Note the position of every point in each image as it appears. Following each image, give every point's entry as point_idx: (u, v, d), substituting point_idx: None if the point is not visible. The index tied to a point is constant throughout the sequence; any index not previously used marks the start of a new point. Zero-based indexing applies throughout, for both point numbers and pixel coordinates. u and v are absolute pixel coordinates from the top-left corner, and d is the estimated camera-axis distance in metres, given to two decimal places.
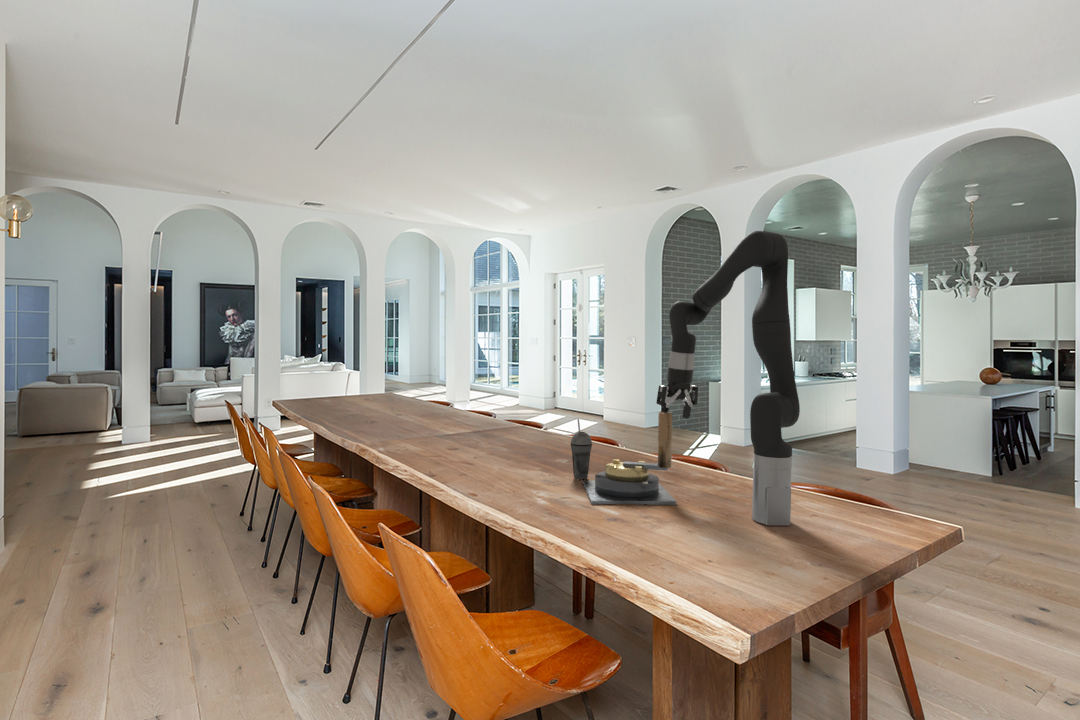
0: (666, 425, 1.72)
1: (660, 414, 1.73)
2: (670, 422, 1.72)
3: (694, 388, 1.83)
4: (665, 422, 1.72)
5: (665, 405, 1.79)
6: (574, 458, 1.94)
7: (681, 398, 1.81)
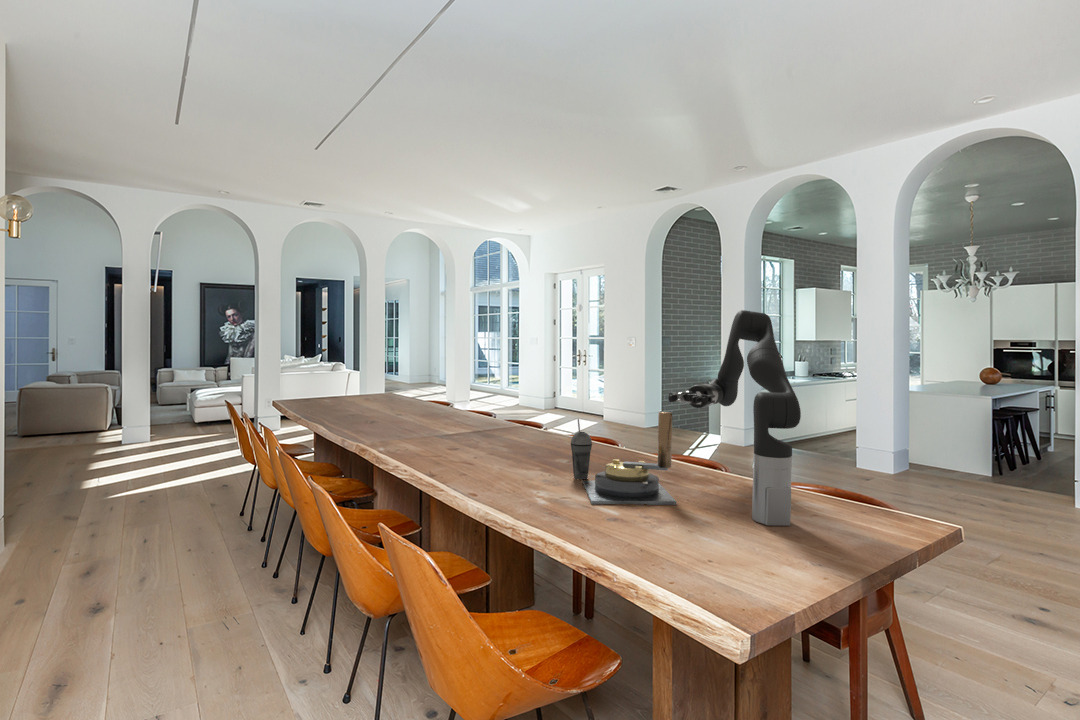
0: (666, 425, 1.72)
1: (660, 414, 1.73)
2: (670, 422, 1.72)
3: None
4: (665, 422, 1.72)
5: None
6: (574, 458, 1.94)
7: (691, 394, 1.87)
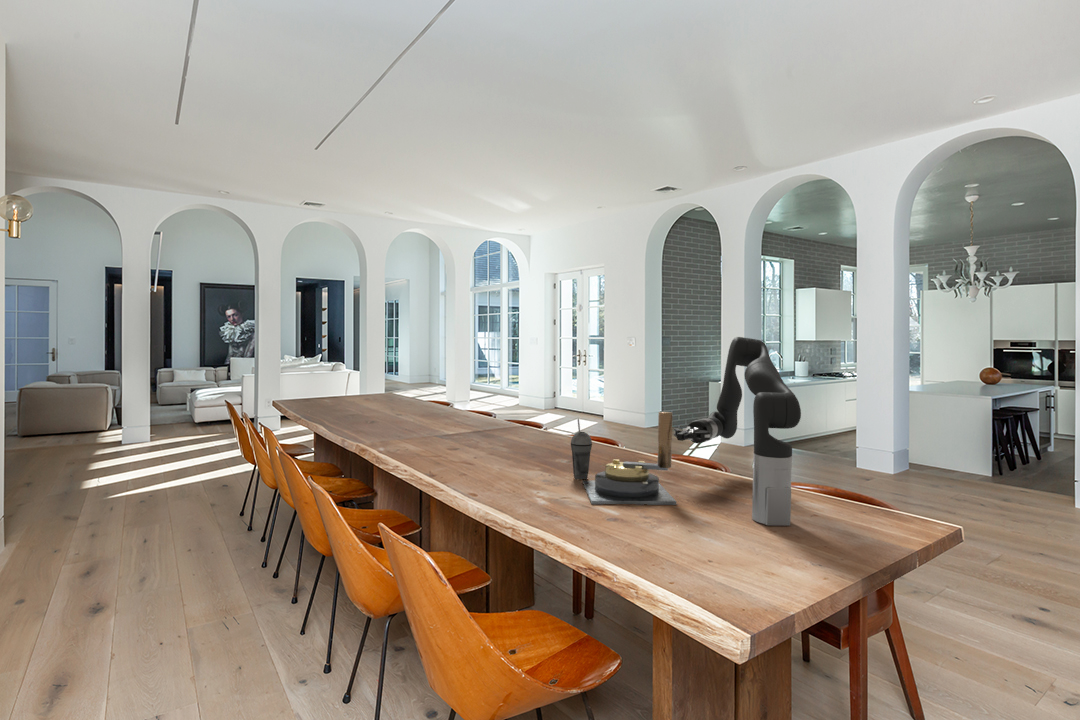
0: (666, 425, 1.72)
1: (660, 414, 1.73)
2: (670, 422, 1.72)
3: None
4: (665, 422, 1.72)
5: None
6: (574, 458, 1.94)
7: (689, 430, 1.89)
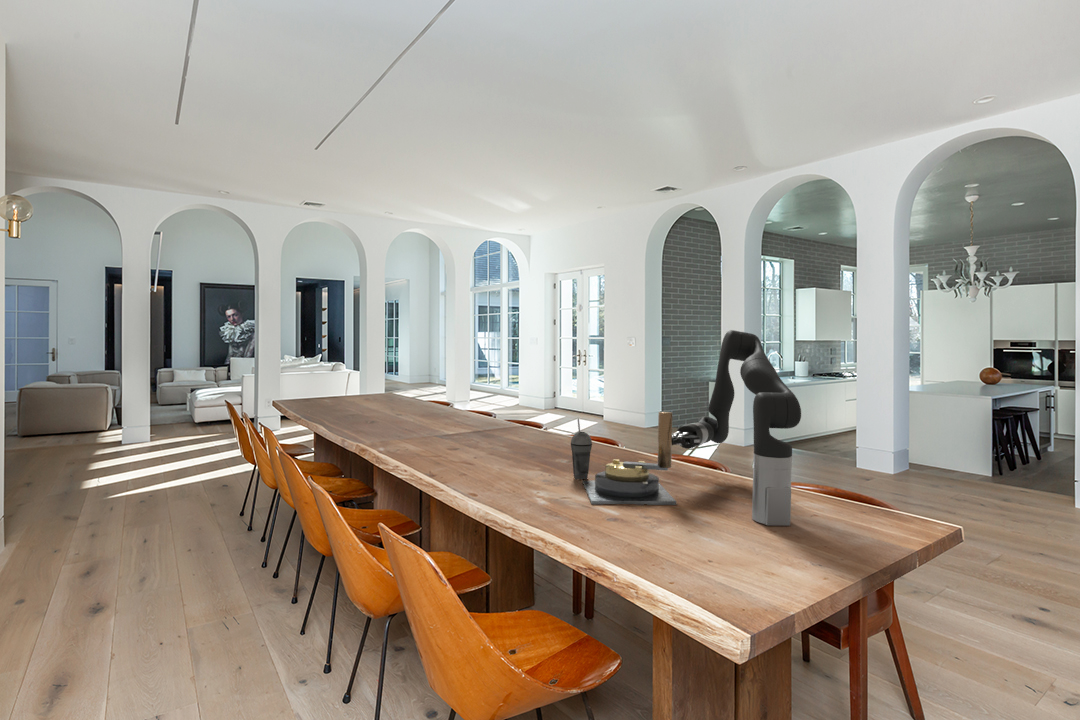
0: (666, 425, 1.72)
1: (660, 414, 1.73)
2: (670, 422, 1.72)
3: None
4: (665, 422, 1.72)
5: None
6: (574, 458, 1.94)
7: (678, 435, 1.83)
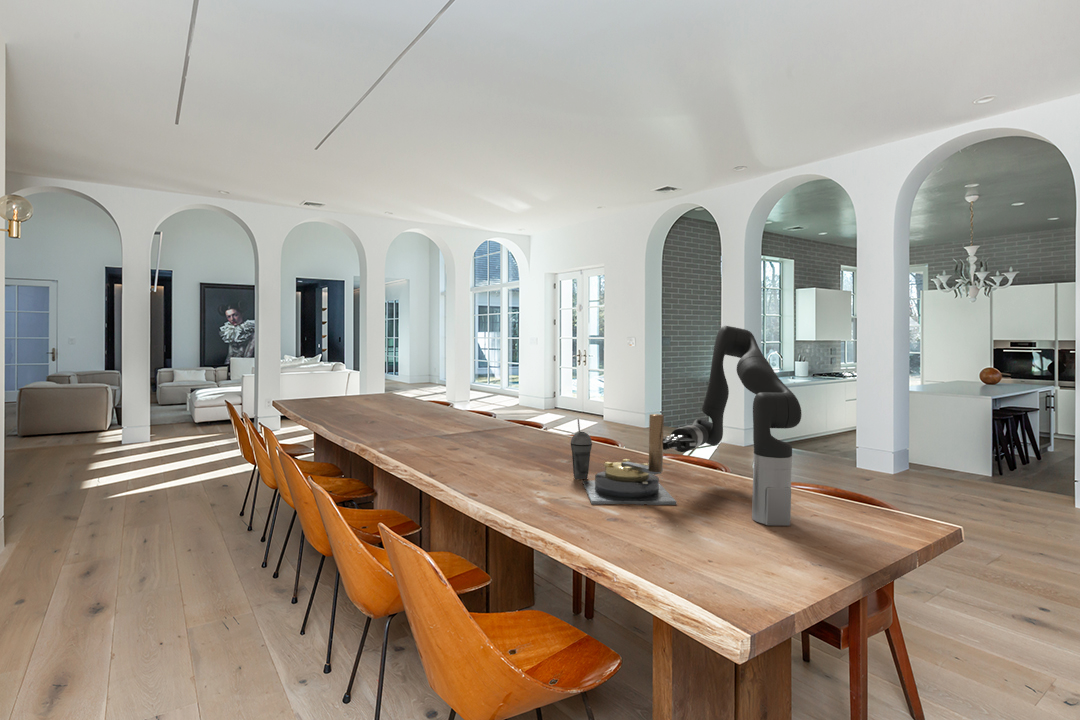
0: (652, 427, 1.67)
1: (649, 416, 1.68)
2: (657, 425, 1.66)
3: None
4: (652, 424, 1.67)
5: None
6: (574, 458, 1.94)
7: (673, 438, 1.77)
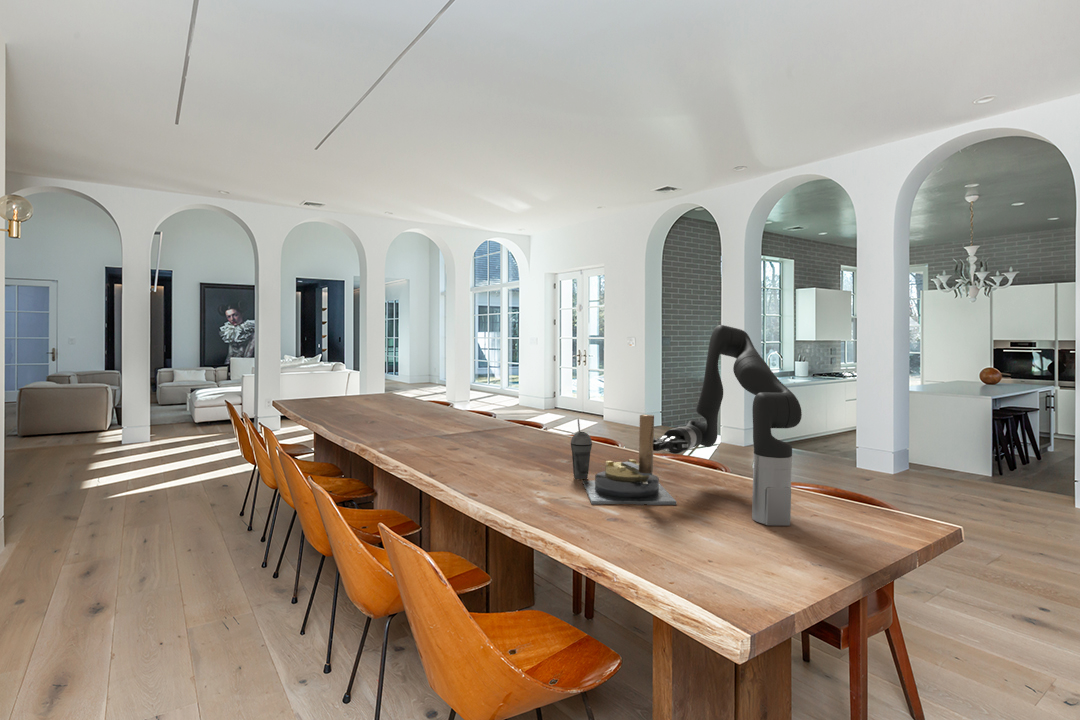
0: (641, 428, 1.65)
1: None
2: (645, 425, 1.65)
3: None
4: (640, 425, 1.66)
5: None
6: (574, 458, 1.94)
7: (665, 439, 1.74)
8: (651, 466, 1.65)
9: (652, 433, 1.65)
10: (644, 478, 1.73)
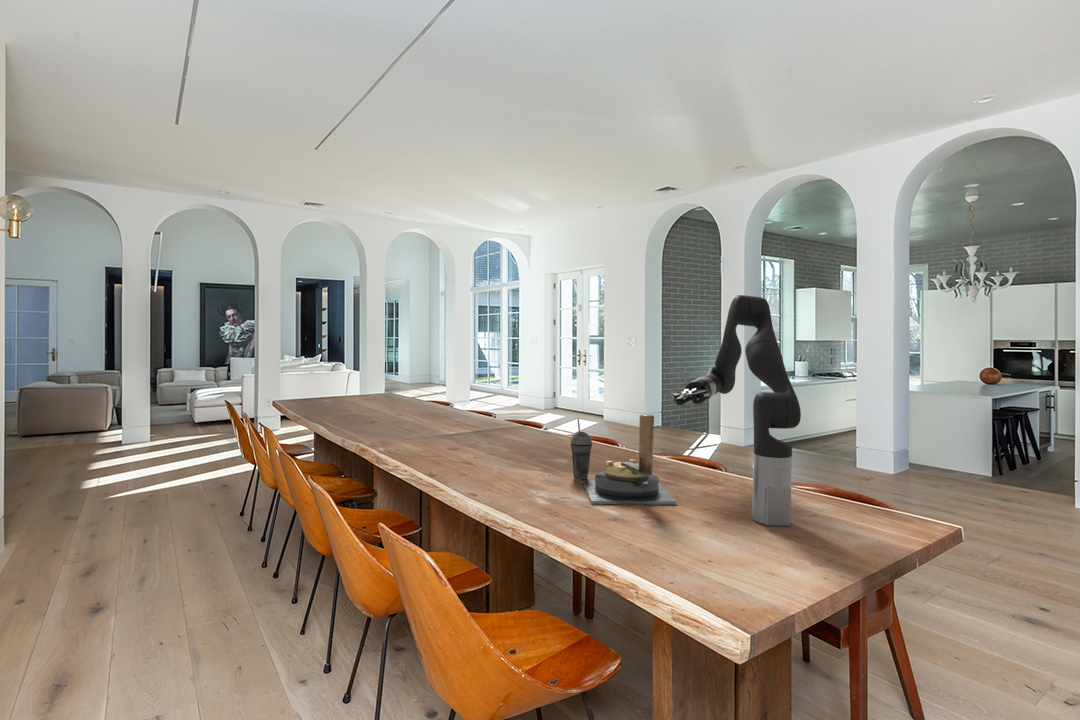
0: (641, 428, 1.65)
1: None
2: (645, 425, 1.65)
3: None
4: (640, 425, 1.66)
5: None
6: (574, 458, 1.94)
7: (687, 392, 1.85)
8: (651, 466, 1.65)
9: (652, 433, 1.65)
10: (644, 478, 1.73)
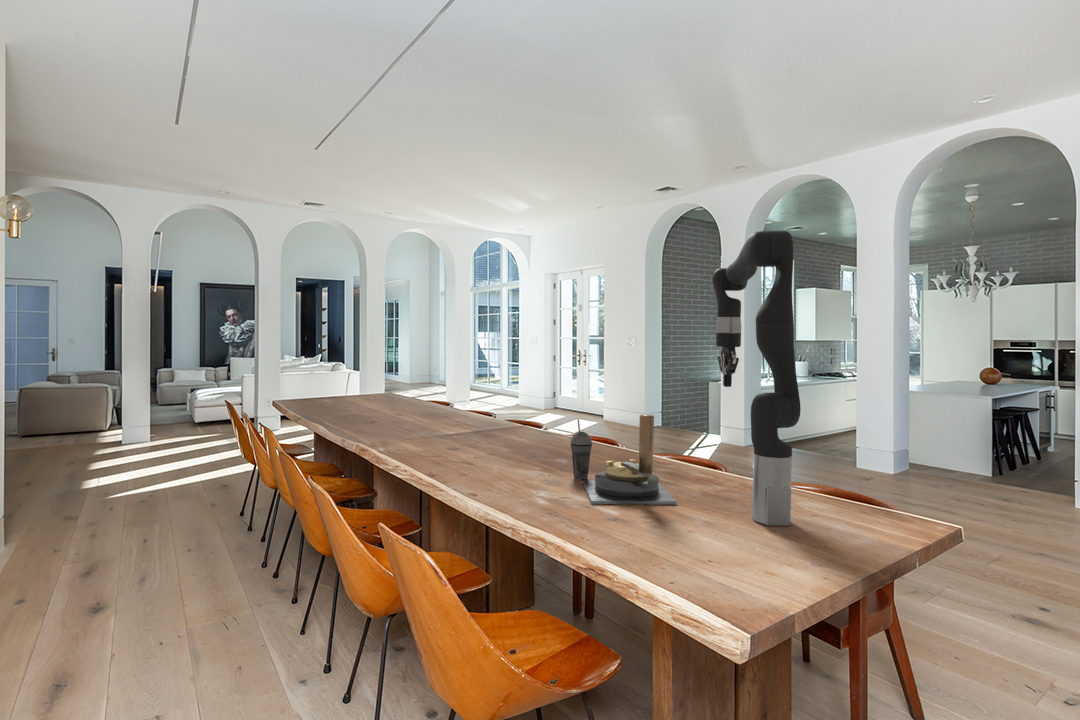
0: (641, 428, 1.65)
1: None
2: (645, 425, 1.65)
3: None
4: (640, 425, 1.66)
5: None
6: (574, 458, 1.94)
7: None
8: (651, 466, 1.65)
9: (652, 433, 1.65)
10: (644, 478, 1.73)
